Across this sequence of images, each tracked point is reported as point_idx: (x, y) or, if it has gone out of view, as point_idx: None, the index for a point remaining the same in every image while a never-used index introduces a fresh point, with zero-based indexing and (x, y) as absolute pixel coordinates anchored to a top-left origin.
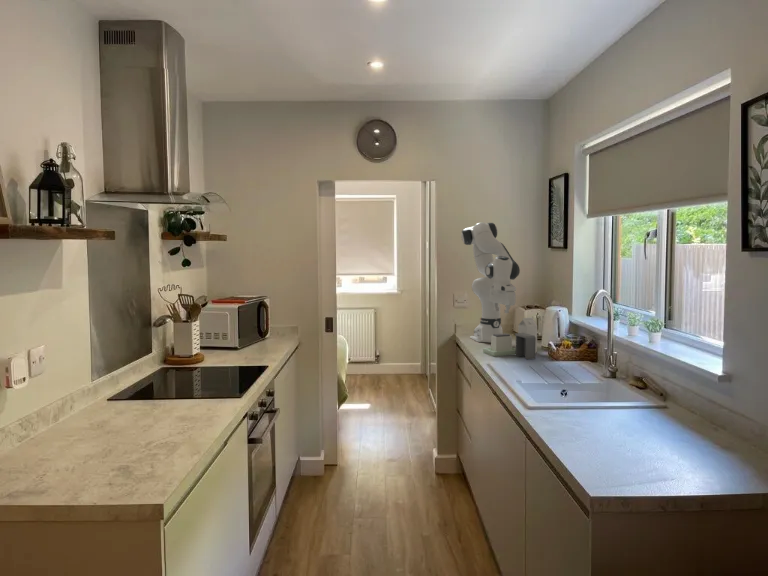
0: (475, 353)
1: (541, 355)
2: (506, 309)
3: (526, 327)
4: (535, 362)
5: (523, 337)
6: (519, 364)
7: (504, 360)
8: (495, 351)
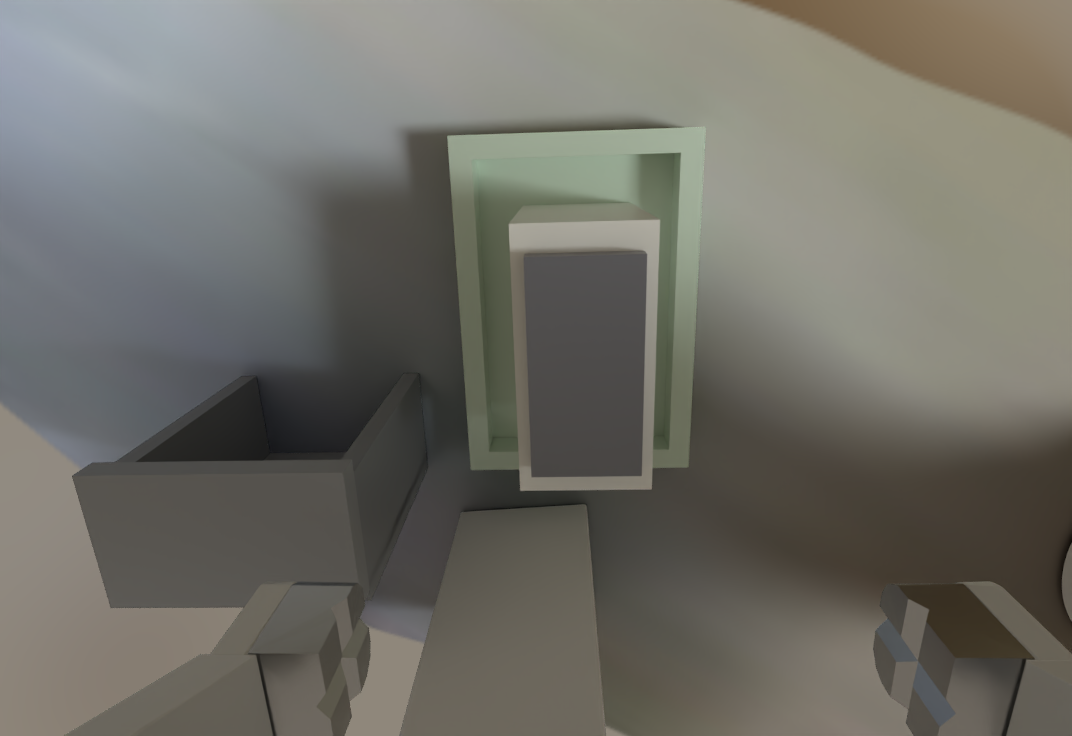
0: (699, 10)
1: None
2: (165, 677)
3: (409, 728)
4: (98, 375)
5: (146, 463)
6: (37, 182)
7: (244, 138)
8: (534, 207)
